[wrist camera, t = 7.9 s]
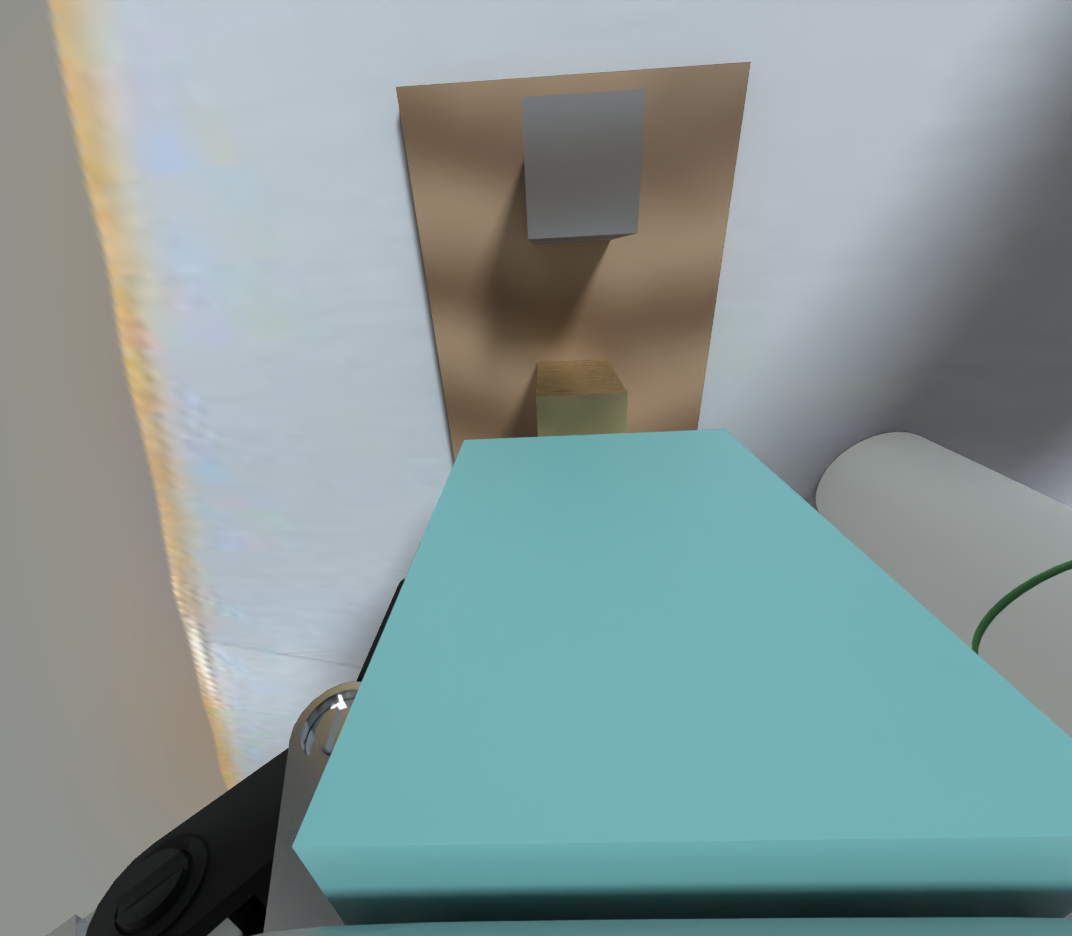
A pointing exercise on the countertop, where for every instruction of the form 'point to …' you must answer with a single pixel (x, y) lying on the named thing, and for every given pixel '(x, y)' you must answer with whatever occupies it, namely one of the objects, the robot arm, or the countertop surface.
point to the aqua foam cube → (675, 714)
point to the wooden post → (580, 398)
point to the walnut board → (571, 281)
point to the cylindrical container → (966, 554)
